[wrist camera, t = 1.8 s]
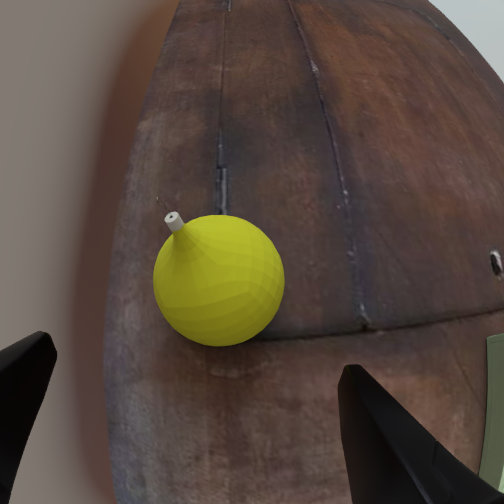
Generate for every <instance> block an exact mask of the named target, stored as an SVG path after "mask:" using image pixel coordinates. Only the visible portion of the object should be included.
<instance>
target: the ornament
mask: <svg viewBox="0 0 504 504" xmlns="http://www.w3.org/2000/svg"><path fill="white" fill-rule="evenodd" d="M157 197H158V196H157ZM160 200H161V199H160ZM157 202H158V201H157ZM159 204H160V203H159ZM164 205H165V204H164ZM162 206H163V205H162ZM165 207H166V206H165ZM165 207H164V208H165ZM165 209H166V208H165ZM166 210H168V209H166ZM165 222H166V224H167V225H168V227H169V228H170V230H171V231H172V232H173V234H172V235H171V236H170V237H169V238H168V240H167V241H166V242H165V243H164V245H163V247H162V248H161V250H160V252H159V254H158V257H157V260H156V263H155V267H154V273H153V286H154V293H155V297H156V302H157V304H158V306H159V308H160V310H161V312H162V314H163V316H164V317H165V319H166V320H167V321H168V322H169V324H170V325H171V326H172V327H173V328H174V329H175V330H176V331H178V332H179V333H180V334H182V335H183V336H185V337H186V338H188V339H190V340H193V341H195V342H198V343H200V344H203V345H209V346H229V345H234V344H238V343H241V342H244V341H246V340H248V339H250V338H252V337H253V336H255V335H256V334H258V333H259V332H260V331H262V330H263V329H264V328H265V327H266V326H267V325H268V324H269V322H270V321H271V320H272V319H273V317H274V315H275V314H276V312H277V310H278V308H279V305H280V302H281V300H282V296H283V290H284V284H285V282H284V270H283V265H282V262H281V259H280V256H279V254H278V252H277V250H276V249H275V247H274V245H273V243H272V242H271V241H270V239H269V238H268V237H267V236H266V235H265V234H264V233H263V232H262V231H261V230H260V229H258V228H257V227H255V226H254V225H252V224H251V223H249V222H247V221H246V220H243V219H240V218H237V217H232V216H226V215H210V216H204V217H200V218H197V219H194V220H192V221H190V222H188V223H186V224H185V223H183V221H182V219H181V218H180V216H179V214H178V213H177V212H172V213H170V212H169V214H168V215H167V216H166V218H165Z"/></svg>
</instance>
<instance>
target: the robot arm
mask: <svg viewBox="0 0 504 504" xmlns="http://www.w3.org/2000/svg"><path fill="white" fill-rule="evenodd" d="M56 360H57V351H56V348H55V346H54V343H53V341H52V338H51V336H50V335H49V334H48V333H46V332H42V331H37V332H36V333H33V334H31V335H29V336H28V337H26V338H24V339H22V340H20V341H18V342H16V343H14V344H12V345H11V346H8V347H7V348H5V349H3V350H1V351H0V504H8V503H9V500H10V495H11V491H12V487H13V483H14V480H15V477H16V473H17V470H18V467H19V464H20V460H21V458H22V455H23V451H24V449H25V445H26V443H27V440H28V437H29V435H30V432H31V429H32V427H33V424H34V421H35V419H36V416H37V414H38V411H39V409H40V406H41V404H42V402H43V399H44V396H45V393H46V391H47V387H48V384H49V381H50V378H51V375H52V372H53V369H54V366H55V363H56ZM338 402H339V416H340V430H341V439H342V445H343V450H344V456H345V461H346V467H347V473H348V479H349V484H350V491H351V497H352V503H353V504H504V493H502V492H500V491H498V490H497V489H495V488H494V487H492V486H491V485H490V484H488V483H487V482H486V481H484V480H483V479H482V478H480V477H479V476H478V475H476V474H475V473H474V472H472V471H471V470H470V469H469V468H467V467H466V466H465V465H464V464H462V463H461V462H460V461H459V460H458V459H456V458H455V457H454V456H453V455H452V454H451V453H450V452H449V451H448V450H447V449H445V448H444V447H443V446H442V445H441V444H440V443H439V442H438V441H436V439H435V438H434V437H433V436H432V435H431V434H430V433H429V432H428V431H427V430H426V429H425V428H424V427H423V426H422V425H421V424H420V423H419V422H418V421H417V420H416V419H415V418H414V417H413V416H412V415H411V414H410V413H409V412H408V411H407V410H406V409H404V408H403V407H402V406H401V405H400V404H399V403H398V402H397V401H396V400H395V399H394V398H393V397H392V396H391V395H390V394H389V393H388V392H387V391H386V390H385V389H384V388H383V387H382V386H381V385H380V384H379V383H378V382H377V381H376V380H375V379H374V378H373V377H372V376H371V375H370V374H369V373H368V372H367V371H366V370H365V369H364V368H363V367H362V366H361V365H358V364H352V365H346V366H345V367H344V369H343V372H342V375H341V378H340V381H339V383H338Z"/></svg>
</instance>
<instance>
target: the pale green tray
mask: <svg viewBox="0 0 504 504" xmlns="http://www.w3.org/2000/svg"><path fill="white" fill-rule="evenodd" d="M486 339H487V362H488V391H487V413H486V426H485V436H484V444H483V452H482V458H481V465H480V470H479V477H480V478H482V479H483V480H484V481H486V482H487V483H488V484H490V485H491V486H492V487H494V488H495V489H497V490H498V491H500V492H502V493H504V333H502V334H498V335H494V336H490V337H487V338H486Z"/></svg>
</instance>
